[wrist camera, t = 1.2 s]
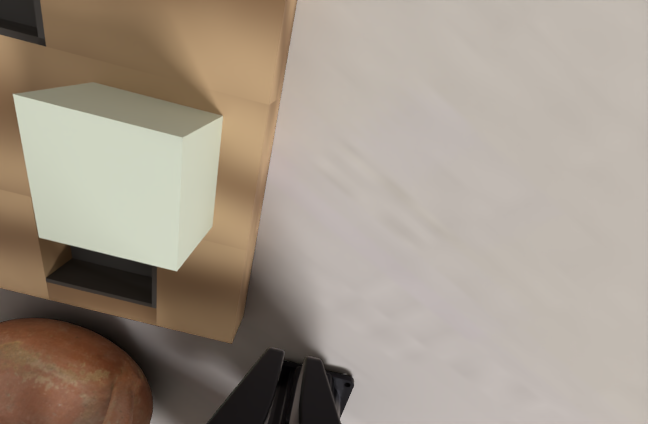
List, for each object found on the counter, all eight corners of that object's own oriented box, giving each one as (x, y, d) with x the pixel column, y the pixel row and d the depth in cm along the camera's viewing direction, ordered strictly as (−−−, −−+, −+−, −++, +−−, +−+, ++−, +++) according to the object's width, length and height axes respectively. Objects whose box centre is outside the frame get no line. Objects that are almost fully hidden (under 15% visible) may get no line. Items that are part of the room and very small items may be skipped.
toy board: (243, 316, 24) (225, 359, 21) (-92, 234, 24) (-165, 265, 20) (312, -90, 14) (298, -131, 11) (-283, -254, 13) (-497, -354, 10)
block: (212, 226, 18) (176, 271, 15) (102, 199, 18) (38, 237, 14) (223, 115, 15) (182, 137, 12) (93, 82, 15) (12, 93, 12)
